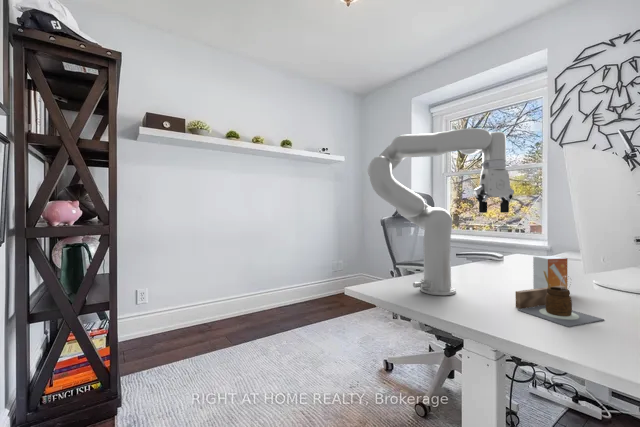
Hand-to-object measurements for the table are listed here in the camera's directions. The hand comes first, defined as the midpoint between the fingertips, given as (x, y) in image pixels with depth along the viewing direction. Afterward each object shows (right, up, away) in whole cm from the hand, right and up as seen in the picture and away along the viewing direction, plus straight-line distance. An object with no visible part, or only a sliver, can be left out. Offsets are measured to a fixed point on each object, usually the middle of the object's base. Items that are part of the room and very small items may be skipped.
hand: (493, 212), depth 111 cm
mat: (+4, -30, -25) cm, 39 cm away
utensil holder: (+4, -29, -25) cm, 39 cm away
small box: (+19, -29, -3) cm, 35 cm away
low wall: (+6, -29, -16) cm, 34 cm away
